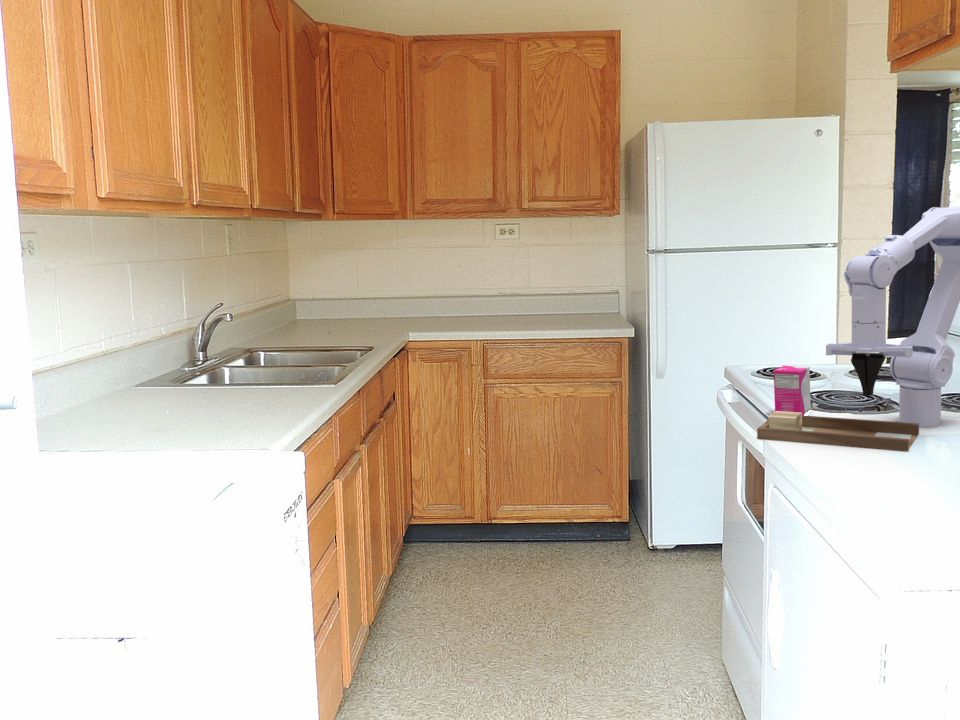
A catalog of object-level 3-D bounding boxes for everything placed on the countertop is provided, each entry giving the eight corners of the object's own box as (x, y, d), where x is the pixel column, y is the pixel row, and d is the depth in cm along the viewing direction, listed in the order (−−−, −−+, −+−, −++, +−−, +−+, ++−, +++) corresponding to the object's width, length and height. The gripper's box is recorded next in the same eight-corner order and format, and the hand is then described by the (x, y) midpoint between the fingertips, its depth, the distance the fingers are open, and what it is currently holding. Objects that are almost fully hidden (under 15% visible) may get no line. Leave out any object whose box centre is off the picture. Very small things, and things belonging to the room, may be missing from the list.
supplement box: (783, 417, 190) (783, 364, 188) (811, 420, 186) (811, 366, 184) (773, 423, 186) (773, 369, 184) (802, 426, 182) (801, 371, 180)
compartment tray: (776, 430, 179) (776, 413, 179) (918, 441, 165) (919, 423, 164) (757, 446, 169) (757, 428, 168) (907, 459, 154) (907, 440, 154)
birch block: (776, 428, 175) (775, 410, 175) (802, 430, 173) (802, 412, 172) (768, 434, 171) (768, 416, 171) (795, 436, 168) (795, 418, 168)
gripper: (821, 324, 163) (822, 396, 165) (908, 325, 155) (907, 401, 157) (830, 319, 169) (830, 389, 171) (914, 319, 161) (913, 393, 163)
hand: (868, 394), depth 164 cm, fingers closed
